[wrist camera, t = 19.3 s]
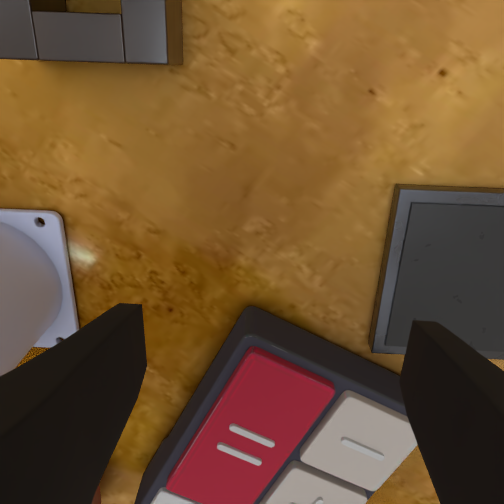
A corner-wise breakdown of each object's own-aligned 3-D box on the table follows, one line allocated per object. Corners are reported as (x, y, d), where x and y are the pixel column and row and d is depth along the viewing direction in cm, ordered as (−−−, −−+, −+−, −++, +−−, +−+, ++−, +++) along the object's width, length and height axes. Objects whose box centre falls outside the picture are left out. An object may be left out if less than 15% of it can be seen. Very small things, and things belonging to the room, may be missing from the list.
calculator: (445, 432, 21) (291, 603, 26) (415, 377, 25) (286, 534, 30) (245, 340, 19) (121, 542, 24) (248, 296, 23) (140, 477, 28)
